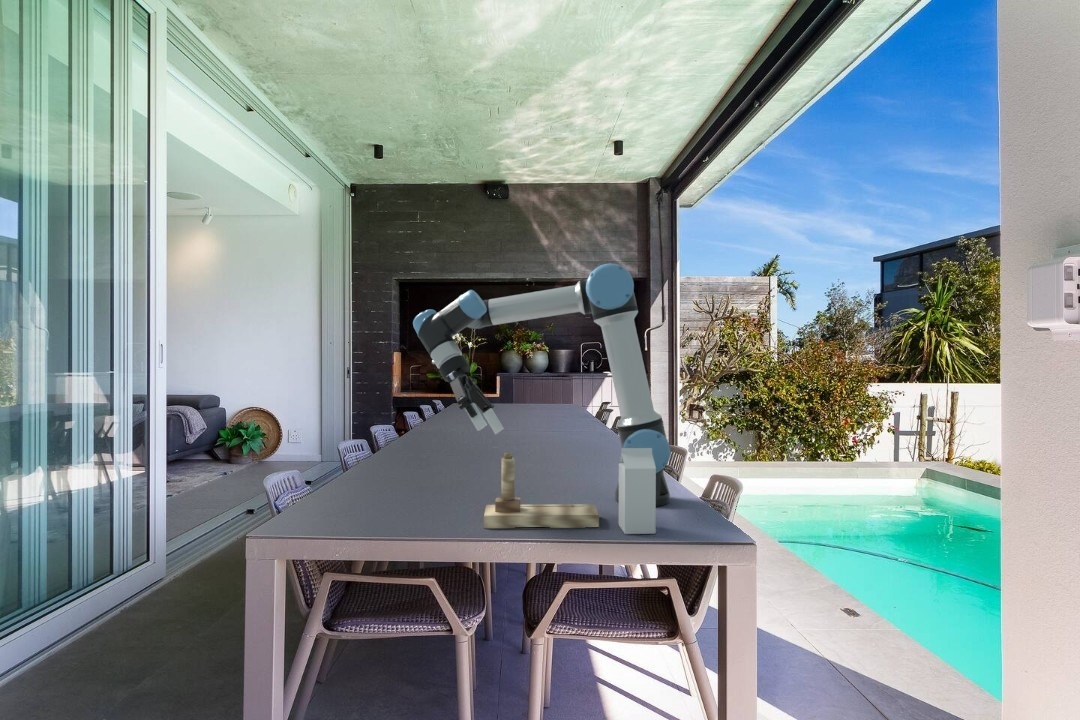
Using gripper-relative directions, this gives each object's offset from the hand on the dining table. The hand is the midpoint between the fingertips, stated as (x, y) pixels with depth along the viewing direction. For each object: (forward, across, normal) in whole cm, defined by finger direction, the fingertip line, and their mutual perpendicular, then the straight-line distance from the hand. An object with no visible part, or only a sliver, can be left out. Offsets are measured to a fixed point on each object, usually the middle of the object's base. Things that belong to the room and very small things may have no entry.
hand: (491, 429), depth 150 cm
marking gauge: (+19, +2, -6) cm, 20 cm away
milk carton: (+40, 0, +17) cm, 43 cm away
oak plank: (+26, -1, -2) cm, 26 cm away
